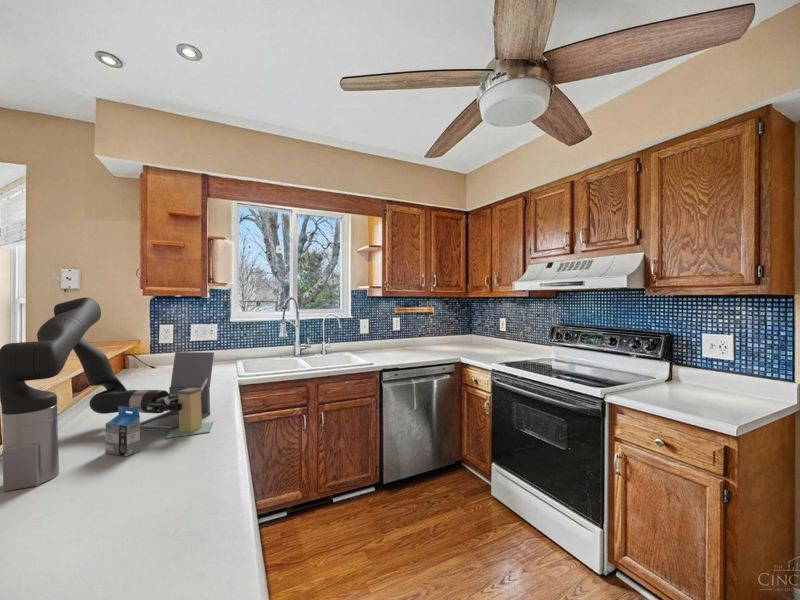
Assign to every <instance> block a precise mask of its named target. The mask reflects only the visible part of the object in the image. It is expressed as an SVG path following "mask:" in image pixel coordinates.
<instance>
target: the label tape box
mask: <svg viewBox="0 0 800 600" xmlns="http://www.w3.org/2000/svg"><path fill="white" fill-rule="evenodd" d="M128 410H129V411H128ZM118 411H119V412H118V414H117V415H116V416H114V417H113V418H112V419H110V420H109V421H107V422H106V423H105V445H104V453H105V454H110V455H117V456H124V457H130V456H132V455H135V454H137V453H139V452H140V451H141V447H140V446H141V445H140V444H141V442H140V441H141V438H140V436H141V434H140V431H141V429H140V421H141V417H140V412H139V409H138V408H131V407H121V406H118ZM129 412H130V413H129ZM131 412H132V413H131ZM138 451H139V452H138ZM136 452H137V453H136ZM134 453H135V454H134Z"/></svg>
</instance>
